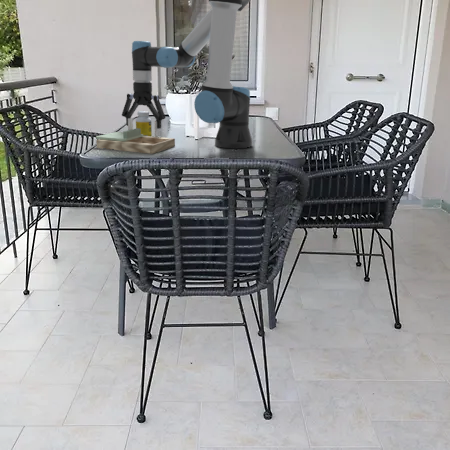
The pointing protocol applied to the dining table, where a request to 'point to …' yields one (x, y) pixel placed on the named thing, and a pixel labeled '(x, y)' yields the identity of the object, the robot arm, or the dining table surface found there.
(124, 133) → the cover
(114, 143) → the board
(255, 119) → the dining table surface
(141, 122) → the pill bottle
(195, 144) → the dining table surface
